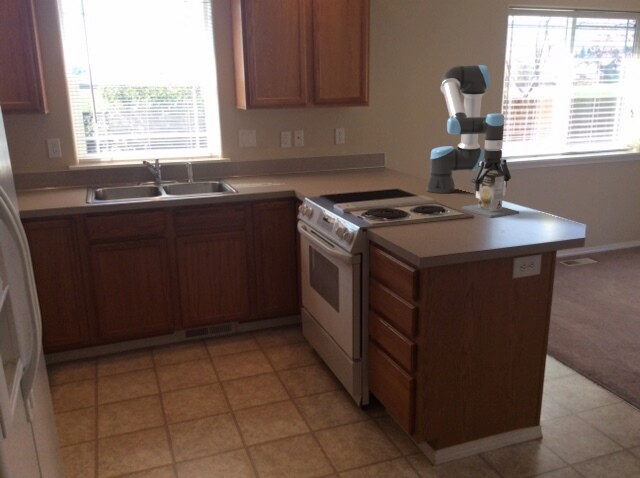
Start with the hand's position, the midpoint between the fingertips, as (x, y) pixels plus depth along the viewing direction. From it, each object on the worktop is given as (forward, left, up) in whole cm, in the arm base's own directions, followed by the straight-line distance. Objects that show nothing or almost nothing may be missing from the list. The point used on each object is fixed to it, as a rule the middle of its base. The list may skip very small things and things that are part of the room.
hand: (490, 196), depth 254 cm
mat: (0, 0, -7) cm, 7 cm away
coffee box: (0, 0, -6) cm, 6 cm away
